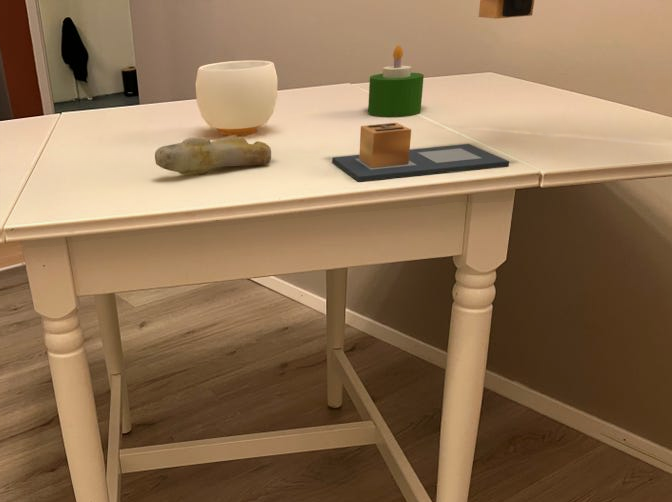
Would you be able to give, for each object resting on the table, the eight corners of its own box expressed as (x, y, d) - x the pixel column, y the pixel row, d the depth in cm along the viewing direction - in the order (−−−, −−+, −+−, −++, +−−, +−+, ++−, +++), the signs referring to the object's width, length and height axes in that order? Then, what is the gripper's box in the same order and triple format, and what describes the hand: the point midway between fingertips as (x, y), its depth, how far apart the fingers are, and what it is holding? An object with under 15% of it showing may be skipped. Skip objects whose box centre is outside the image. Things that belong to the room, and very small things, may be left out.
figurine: (250, 138, 94) (144, 138, 88) (270, 126, 89) (159, 124, 83) (254, 177, 94) (149, 180, 88) (275, 167, 89) (164, 169, 83)
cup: (200, 143, 104) (196, 73, 99) (197, 127, 115) (193, 63, 110) (283, 137, 104) (283, 66, 99) (272, 121, 115) (271, 57, 110)
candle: (357, 114, 116) (360, 48, 111) (387, 105, 120) (391, 41, 115) (401, 118, 110) (406, 49, 105) (430, 109, 115) (436, 42, 110)
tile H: (394, 155, 87) (396, 121, 85) (408, 164, 83) (411, 128, 81) (359, 159, 87) (360, 124, 85) (371, 168, 83) (373, 131, 81)
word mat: (468, 148, 91) (468, 143, 90) (508, 166, 82) (509, 160, 82) (331, 162, 89) (332, 156, 89) (358, 181, 80) (358, 175, 80)
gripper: (611, -191, 69) (575, 15, 78) (522, -161, 84) (500, 9, 93) (537, -186, 69) (509, 20, 78) (461, -157, 84) (445, 14, 92)
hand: (505, 12), depth 85 cm, fingers closed on tile I, 4 cm apart
